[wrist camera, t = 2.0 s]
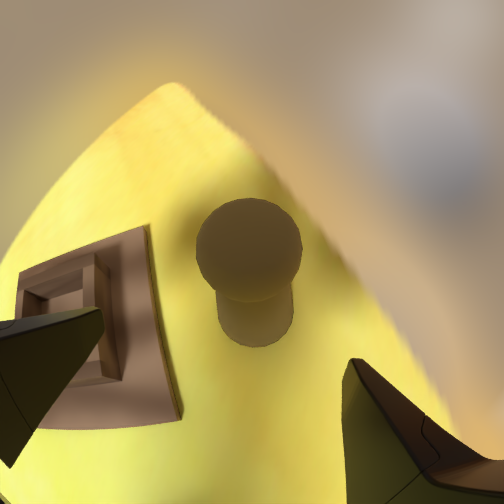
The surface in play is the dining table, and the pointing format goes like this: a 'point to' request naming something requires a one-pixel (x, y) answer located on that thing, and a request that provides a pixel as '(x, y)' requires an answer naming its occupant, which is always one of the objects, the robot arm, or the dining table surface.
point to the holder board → (106, 334)
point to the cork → (251, 268)
